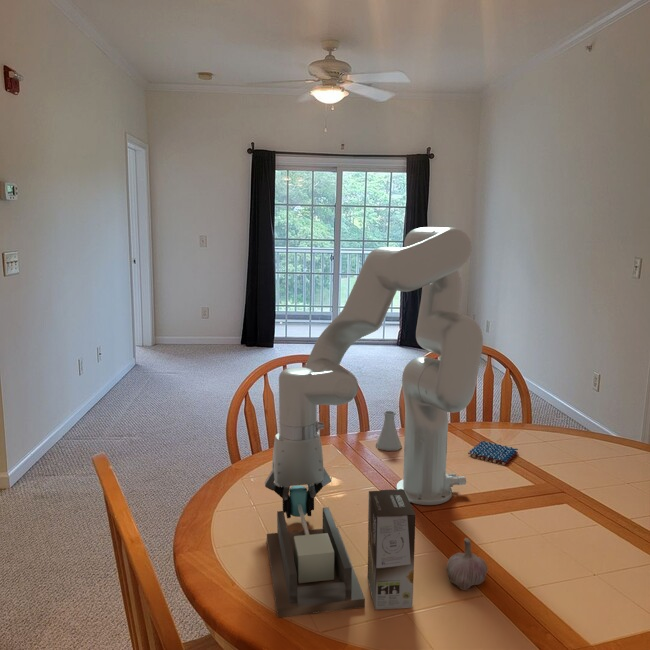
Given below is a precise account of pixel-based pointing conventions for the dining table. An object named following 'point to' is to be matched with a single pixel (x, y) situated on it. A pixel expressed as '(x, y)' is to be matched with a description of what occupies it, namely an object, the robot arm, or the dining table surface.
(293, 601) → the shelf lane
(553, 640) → the dining table surface
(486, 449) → the woven mat
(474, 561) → the garlic bulb
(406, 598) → the coffee box
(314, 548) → the cube with teal knob
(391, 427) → the flask
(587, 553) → the dining table surface
